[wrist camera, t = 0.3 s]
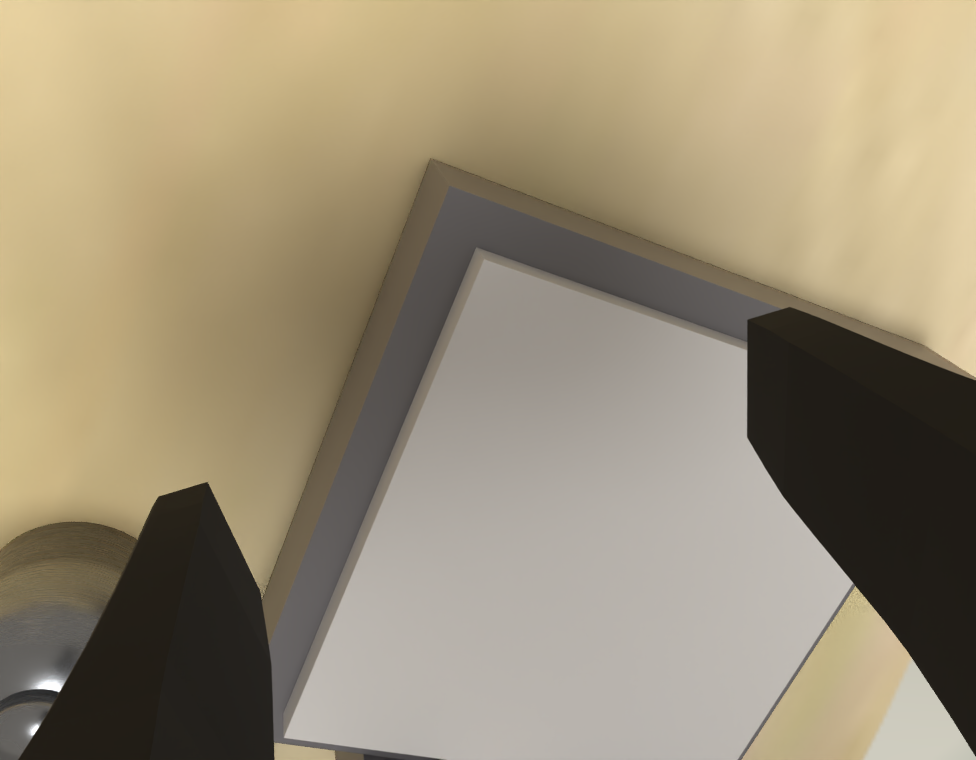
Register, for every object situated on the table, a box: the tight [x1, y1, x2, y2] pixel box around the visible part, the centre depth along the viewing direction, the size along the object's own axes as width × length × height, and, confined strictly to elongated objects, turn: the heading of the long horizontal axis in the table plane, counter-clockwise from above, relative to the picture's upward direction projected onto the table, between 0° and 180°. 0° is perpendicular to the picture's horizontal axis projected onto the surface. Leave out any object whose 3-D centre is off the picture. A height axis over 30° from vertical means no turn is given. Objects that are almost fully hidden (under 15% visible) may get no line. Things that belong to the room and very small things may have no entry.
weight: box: [0, 522, 137, 760], centre depth 21 cm, size 4×4×5 cm
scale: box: [262, 159, 976, 760], centre depth 23 cm, size 17×15×6 cm
